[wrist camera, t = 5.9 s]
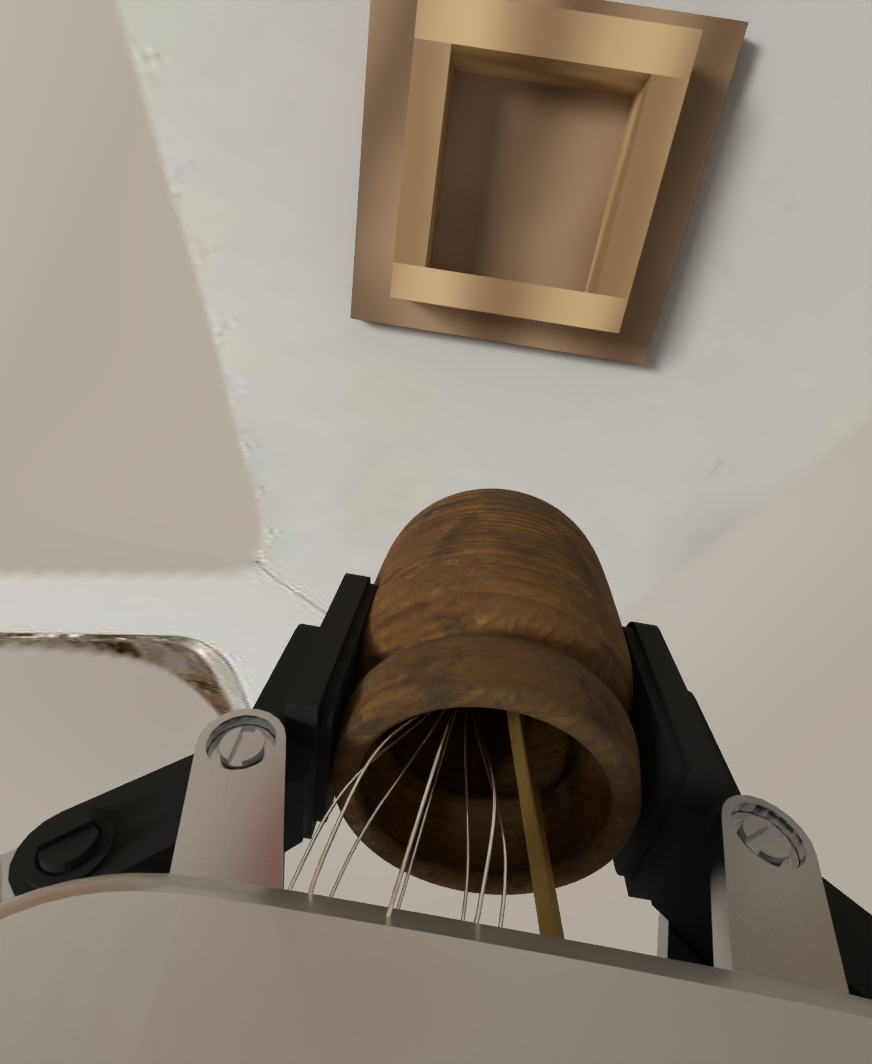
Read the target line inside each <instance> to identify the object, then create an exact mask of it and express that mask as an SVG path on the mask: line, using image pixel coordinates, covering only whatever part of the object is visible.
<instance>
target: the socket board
mask: <svg viewBox="0 0 872 1064" xmlns="http://www.w3.org/2000/svg"><path fill="white" fill-rule="evenodd" d="M747 26H748V22H744V21H737V20H731V19H724V18H717V17H711V16H704V15H697V14H691V13H684V12H677V11H671V10H664V9H657V8H651V7H644V6H637V5H630V4H624V3H617V2H610V1H604V0H371V3H370V19H369V35H368V51H367V67H366V82H365V98H364V114H363V130H362V146H361V161H360V177H359V193H358V209H357V225H356V240H355V256H354V272H353V288H352V304H351V318H352V319H358V320H365V321H371V322H377V323H383V324H390V325H396V326H402V327H409V328H415V329H421V330H428V331H434V332H440V333H447V334H453V335H459V336H466V337H472V338H478V339H485V340H491V341H497V342H504V343H510V344H516V345H523V346H529V347H535V348H541V349H548V350H554V351H560V352H567V353H573V354H579V355H586V356H592V357H598V358H605V359H611V360H617V361H624V362H630V363H636V364H643V365H644V363H645V360H646V357H647V353H648V350H649V347H650V343H651V340H652V337H653V334H654V330H655V327H656V324H657V321H658V317H659V314H660V311H661V307H662V304H663V301H664V298H665V294H666V291H667V288H668V284H669V281H670V278H671V275H672V271H673V268H674V265H675V262H676V258H677V255H678V252H679V248H680V245H681V242H682V239H683V235H684V232H685V229H686V225H687V222H688V219H689V216H690V212H691V209H692V206H693V203H694V199H695V196H696V193H697V189H698V186H699V183H700V180H701V176H702V173H703V170H704V166H705V163H706V160H707V157H708V153H709V150H710V147H711V144H712V140H713V137H714V134H715V130H716V127H717V124H718V121H719V117H720V114H721V111H722V108H723V104H724V101H725V98H726V94H727V91H728V88H729V85H730V81H731V78H732V75H733V71H734V68H735V65H736V62H737V58H738V55H739V52H740V49H741V45H742V42H743V39H744V35H745V32H746V29H747Z"/></svg>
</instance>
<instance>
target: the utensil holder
mask: <svg viewBox="0 0 872 1064" xmlns="http://www.w3.org/2000/svg"><path fill="white" fill-rule="evenodd" d="M374 584H375V585H378V586H377V589H376V592H375V594H374V597H373V600H372V603H371V606H370V609H369V612H368V616H367V619H366V623H365V627H364V630H363V634H362V639H361V644H360V649H359V654H358V660H357V666H356V673H355V680H354V689H353V692H352V694H351V695H350V697H349V699H348V701H347V703H346V705H345V707H344V710H343V712H342V716H341V719H340V724H339V729H338V733H337V738H336V744H335V751H334V760H333V771H332V780H333V789H334V794H335V798H336V799H335V800H334V802H333V803H332V805H331V806H330V808H329V810H328V811H327V813H326V814H325V816H324V818H323V819H322V821H321V823H320V825H319V827H318V828H317V830H316V832H315V834H314V836H313V838H312V840H311V842H310V844H309V846H308V848H307V850H306V852H305V854H304V856H303V858H302V860H301V862H300V864H299V866H298V868H297V870H296V873H295V875H294V877H293V879H292V881H291V883H290V885H289V887H288V890H291V891H292V888H293V886H294V884H295V882H296V880H297V878H298V876H299V873H300V871H301V869H302V867H303V865H304V863H305V860H306V858H307V856H308V854H309V852H310V850H311V848H312V846H313V844H314V842H315V840H316V838H317V836H318V834H319V832H320V831H321V829H322V827H323V825H324V823H325V821H326V819H327V818H328V816H329V815H330V813H331V811H332V809H333V808H334V807H335V805H336V803H337V804H338V806H339V809H340V811H341V813H340V815H339V817H338V819H337V822H336V824H335V826H334V829H333V831H332V833H331V835H330V837H329V839H328V842H327V844H326V847H325V849H324V851H323V853H322V856H321V858H320V860H319V863H318V866H317V868H316V871H315V873H314V876H313V879H312V881H311V885H310V888H309V891H308V893H309V894H313V891H314V887H315V884H316V881H317V878H318V876H319V873H320V870H321V868H322V865H323V862H324V860H325V857H326V855H327V852H328V850H329V848H330V846H331V843H332V841H333V839H334V836H335V834H336V832H337V830H338V827H339V825H340V823H341V820H342V818H343V817H344V819H345V820H346V822H347V823H348V825H349V827H350V828H351V829H352V830H353V832H354V833H355V834H356V835H357V837H358V839H357V840H356V842H355V844H354V846H353V848H352V850H351V851H350V853H349V855H348V857H347V859H346V861H345V863H344V865H343V868H342V870H341V872H340V874H339V876H338V878H337V880H336V882H335V885H334V887H333V889H332V891H331V894H330V896H329V897H332V898H333V896H334V893H335V891H336V889H337V887H338V884H339V882H340V880H341V878H342V875H343V873H344V871H345V869H346V867H347V865H348V863H349V861H350V859H351V857H352V855H353V853H354V851H355V849H356V847H357V845H358V843H359V841H360V840H361V841H362V842H363V843H364V844H365V845H366V846H367V847H368V848H370V849H371V850H372V851H373V852H374V853H376V854H377V855H378V856H380V857H381V858H383V859H384V860H385V861H387V862H388V863H390V864H392V865H393V866H395V867H397V868H399V869H400V870H399V874H398V877H397V880H396V883H395V886H394V890H393V893H392V896H391V900H390V903H389V906H388V909H387V913H386V916H388V917H390V916H391V914H392V910H393V907H394V903H395V900H396V896H397V893H398V890H399V886H400V883H401V880H402V877H403V873H404V872H406V873H407V874H406V878H405V881H404V885H403V888H402V892H401V895H400V898H399V901H398V905H397V908H396V909H400V907H401V903H402V900H403V896H404V893H405V889H406V886H407V882H408V879H409V876H410V875H413V876H415V877H417V878H419V879H422V880H425V881H427V882H430V883H433V884H436V885H439V886H444V887H447V888H451V889H456V890H460V891H464V901H463V908H462V917H461V920H462V921H464V920H465V912H466V905H467V895H468V892H472V893H480V895H479V900H478V905H477V910H476V915H475V919H474V923H478V924H479V919H480V914H481V909H482V903H483V898H484V894H493V895H494V894H495V895H502V901H501V910H500V917H499V925H498V927H500V928H502V926H503V918H504V910H505V900H506V895H511V894H512V895H513V894H526V893H534V897H535V904H536V910H537V917H538V923H539V930H540V935H544V936H550V937H555V938H560V939H564V934H563V928H562V924H561V918H560V912H559V906H558V901H557V896H556V890H555V888H558V887H561V886H565V885H568V884H570V883H573V882H576V881H578V880H580V879H583V878H585V877H587V876H588V875H591V874H592V873H594V872H596V871H597V870H599V869H600V868H602V867H603V866H605V865H606V864H607V863H609V862H610V861H611V860H612V859H613V858H614V857H615V856H616V855H617V854H618V853H619V852H620V851H621V850H622V849H623V848H624V846H625V845H626V844H627V842H628V841H629V839H630V837H631V836H632V834H633V832H634V830H635V828H636V825H637V822H638V819H639V815H640V809H641V798H642V797H641V770H640V756H639V750H638V744H637V739H636V736H635V733H634V730H633V727H632V724H631V722H630V719H631V714H632V708H633V698H634V680H633V670H632V664H631V658H630V654H629V650H628V646H627V642H626V639H625V635H624V632H623V628H622V625H621V622H620V619H619V615H618V612H617V609H616V606H615V603H614V600H613V597H612V594H611V591H610V588H609V585H608V582H607V579H606V577H605V574H604V571H603V569H602V566H601V564H600V561H599V559H598V557H597V555H596V553H595V551H594V549H593V547H592V546H591V544H590V542H589V541H588V539H587V538H586V536H585V535H584V534H583V532H582V531H581V530H580V528H579V527H578V526H577V525H576V524H575V523H574V522H573V521H572V520H571V519H570V518H569V517H567V516H566V515H565V514H564V513H562V512H561V511H560V510H558V509H557V508H555V507H554V506H552V505H550V504H549V503H547V502H545V501H543V500H541V499H538V498H536V497H533V496H531V495H528V494H524V493H521V492H517V491H511V490H504V489H477V490H470V491H465V492H461V493H457V494H454V495H451V496H448V497H446V498H443V499H441V500H439V501H437V502H435V503H433V504H432V505H430V506H428V507H427V508H425V509H424V510H423V511H421V512H420V513H419V514H418V515H416V516H415V517H414V518H413V519H412V520H411V521H410V522H409V523H408V524H407V525H406V526H405V528H404V529H403V530H402V532H401V533H400V534H399V536H398V537H397V538H396V540H395V541H394V543H393V545H392V546H391V548H390V550H389V552H388V554H387V556H386V558H385V560H384V562H383V564H382V567H381V569H380V571H379V574H378V576H377V578H376V581H375V583H374Z"/></svg>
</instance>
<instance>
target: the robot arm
mask: <svg viewBox="0 0 872 1064" xmlns="http://www.w3.org/2000/svg"><path fill="white" fill-rule="evenodd" d="M377 586H378V585H375V584H370V577H366V576H360V575H354V574H348V573H346V574H345V576H344V578H343V580H342V582H341V584H340V586H339V588H338V591H337V593H336V595H335V597H334V599H333V601H332V603H331V605H330V607H329V609H328V612H327V614H326V616H325V618H324V620H323V622H322V624H321V626H320V627H317V626H311V625H305V624H300V625H298V627H297V628H296V630H295V631H294V633H293V635H292V637H291V639H290V641H289V643H288V644H287V646H286V648H285V650H284V652H283V654H282V656H281V657H280V659H279V661H278V663H277V665H276V667H275V668H274V670H273V672H272V674H271V676H270V678H269V680H268V681H267V683H266V685H265V687H264V689H263V691H262V693H261V694H260V696H259V698H258V700H257V702H256V704H255V705H254V707H253V709H241V710H235V711H231V712H229V713H226V714H224V715H222V716H219V717H218V718H217V719H215V720H214V721H212V722H211V723H209V724H208V726H207V727H206V728H205V729H204V730H203V731H202V733H201V734H200V736H199V739H198V741H197V743H196V747H195V752H194V754H192V755H190V756H188V757H186V758H184V759H181V760H179V761H177V762H174V763H172V764H170V765H167V766H165V767H163V768H161V769H158V770H156V771H154V772H151V773H149V774H147V775H145V776H142V777H140V778H138V779H136V780H133V781H131V782H129V783H126V784H124V785H122V786H120V787H117V788H115V789H113V790H110V791H108V792H106V793H104V794H102V795H99V796H97V797H95V798H92V799H90V800H88V801H85V802H83V803H81V804H78V805H76V806H74V807H72V808H69V809H67V810H65V811H62V812H61V813H59V814H57V815H55V816H53V817H51V818H50V819H48V820H46V821H44V822H43V823H42V824H41V825H40V826H38V827H37V828H36V829H35V830H33V831H32V832H31V833H30V834H29V835H28V836H27V837H26V838H25V840H24V841H23V842H22V843H21V845H20V846H19V847H18V848H17V849H15V850H12V851H10V852H7V853H5V854H2V855H0V1064H872V915H871V914H869V913H868V912H867V911H865V910H864V909H863V908H862V907H860V906H859V905H858V904H856V903H855V902H854V901H853V900H851V899H850V898H849V897H847V896H846V895H845V894H843V893H842V892H841V891H840V890H838V889H837V888H836V887H834V886H833V885H832V884H831V883H829V882H828V881H827V880H825V879H824V878H823V877H822V876H821V872H820V868H819V863H818V859H817V855H816V852H815V850H814V847H813V845H812V842H811V841H810V839H809V838H808V836H807V835H806V834H805V832H804V831H803V829H802V828H801V827H800V826H799V825H798V824H797V823H796V822H795V821H794V820H793V819H792V818H791V817H790V816H789V815H787V814H786V813H784V812H783V811H782V810H780V809H779V808H778V807H776V806H774V805H772V804H770V803H768V802H767V801H764V800H763V799H759V798H755V797H753V796H748V795H741V794H740V791H739V789H738V787H737V785H736V783H735V781H734V779H733V777H732V775H731V773H730V770H729V768H728V766H727V764H726V762H725V760H724V758H723V756H722V754H721V751H720V749H719V747H718V745H717V743H716V741H715V739H714V736H713V734H712V732H711V730H710V728H709V726H708V724H707V722H706V720H705V717H704V716H703V713H702V711H701V709H700V707H699V705H698V703H697V701H696V699H695V697H694V695H693V694H692V693H691V692H690V691H688V690H687V688H686V686H685V684H684V682H683V679H682V677H681V675H680V673H679V671H678V669H677V666H676V664H675V662H674V660H673V658H672V656H671V653H670V651H669V649H668V647H667V645H666V643H665V641H664V639H663V636H662V634H661V632H660V630H659V628H658V627H657V626H655V625H649V624H643V623H637V622H629V624H628V625H627V626H626V627H622V628H623V632H624V635H625V639H626V642H627V646H628V650H629V654H630V658H631V664H632V670H633V680H634V698H633V708H632V714H631V719H630V722H631V724H632V727H633V730H634V733H635V736H636V739H637V744H638V750H639V756H640V770H641V797H642V798H641V809H640V815H639V819H638V822H637V825H636V828H635V830H634V832H633V834H632V836H631V837H630V839H629V841H628V842H627V844H626V845H625V846H624V848H623V849H622V850H621V851H620V852H619V853H618V854H617V855H616V856H615V857H614V858H613V861H614V866H615V870H616V872H617V874H619V875H621V876H624V877H625V882H626V887H627V891H628V896H630V897H635V898H641V899H647V900H651V902H652V905H653V906H654V907H655V908H656V909H657V910H658V911H659V912H660V915H659V923H658V946H657V947H658V948H657V956H652V955H646V954H642V953H636V952H631V951H626V950H620V949H615V948H610V947H604V946H599V945H593V944H587V943H582V942H577V941H571V940H566V939H560V938H555V937H550V936H544V935H539V934H533V933H528V932H522V931H517V930H511V929H506V928H500V927H495V926H489V925H483V924H478V923H473V922H467V921H462V920H456V919H450V918H445V917H439V916H433V915H428V914H422V913H417V912H411V911H405V910H400V909H394V908H393V910H392V914H391V916H390V917H388V916H386V913H387V909H388V907H383V906H377V905H372V904H366V903H360V902H355V901H349V900H343V899H337V898H332V897H326V896H321V895H315V894H309V893H304V892H297V891H291V890H284V865H285V863H284V862H285V852H286V851H288V850H289V849H291V848H292V847H294V846H296V845H297V844H299V843H301V842H302V841H303V838H308V839H311V838H312V835H313V832H314V829H315V825H316V822H317V821H320V822H321V821H322V819H323V818H324V816H325V814H326V813H327V811H328V810H329V808H330V806H331V805H332V803H333V800H334V796H335V794H334V789H333V780H332V771H333V760H334V751H335V744H336V738H337V733H338V729H339V724H340V719H341V716H342V712H343V710H344V707H345V705H346V703H347V701H348V699H349V697H350V695H351V694H352V692H353V689H354V680H355V673H356V666H357V660H358V654H359V649H360V644H361V639H362V634H363V630H364V627H365V623H366V619H367V616H368V612H369V609H370V606H371V603H372V600H373V597H374V594H375V592H376V589H377ZM327 819H328V818H327ZM327 819H326V821H327ZM326 821H325V822H326Z"/></svg>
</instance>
